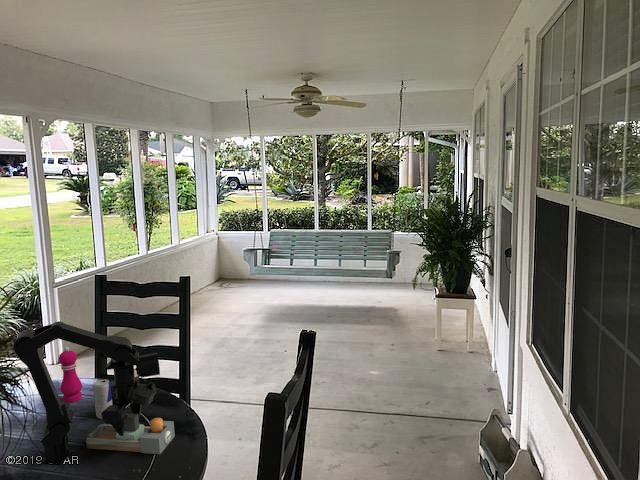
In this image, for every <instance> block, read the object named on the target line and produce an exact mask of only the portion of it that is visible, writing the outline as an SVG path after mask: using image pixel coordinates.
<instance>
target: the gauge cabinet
mask: <svg viewBox="0 0 640 480" xmlns="http://www.w3.org/2000/svg"><path fill="white" fill-rule="evenodd" d="M174 423H175V422H174V420H172V421H171V420H163V431H162V432H161V434H160V433H151V426H150V425H149V426H148V427H149V428H148V429H147V430H146V431H145V432H144V434H143V435H142V436H141V437H140V445H141V452H140V453H141V454H150V455H151V454H153V455H161V454H162V453H163V452H164V450H166V448H167V446H168V445H169V444H170V443H171V442H172V440H173V439H174V438H175V436H176V435H175V433H176V432H175V424H174Z"/></svg>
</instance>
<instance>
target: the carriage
mask: <svg viewBox="0 0 640 480" xmlns="http://www.w3.org/2000/svg"><path fill="white" fill-rule="evenodd" d="M127 415H128V416H127V417H126V419H125V420H124V435H123V436H120V435H119V434H118V433H116V439H120V440H135V441H137V440H138V439H139V438H140V437H141V436H142V435H143V434H144V426H145V425H144V424H141V423H140V421H139V420H140V417H139V418H138V414H133V413H129V412H127Z"/></svg>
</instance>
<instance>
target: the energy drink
mask: <svg viewBox="0 0 640 480" xmlns="http://www.w3.org/2000/svg"><path fill="white" fill-rule="evenodd" d="M111 387H112V386H111V381H110V380H109V379H106V378H104V379H103V378H102V379H98V380H95V381H94V382H93V385H92V389H93V398H94V407H95V414H96V415H95V416H96V418H97V419H99V420H100V419H101V420H102V416H101V413H102V412H103V411H104V410H105V409H106V408H107V407H109V406H110V405H113V397H112V389H111Z"/></svg>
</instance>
